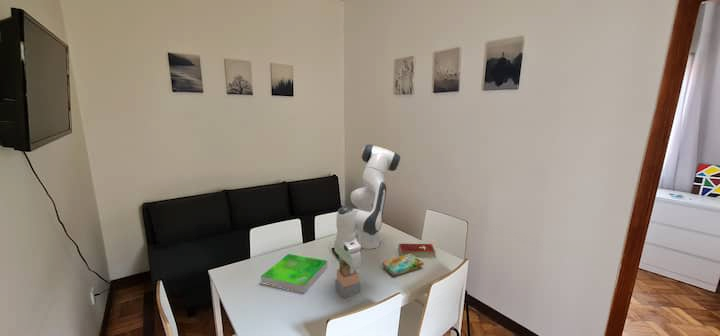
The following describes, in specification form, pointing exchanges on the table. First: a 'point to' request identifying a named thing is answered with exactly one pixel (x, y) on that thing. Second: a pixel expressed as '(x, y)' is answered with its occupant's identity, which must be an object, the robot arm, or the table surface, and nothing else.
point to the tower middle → (347, 279)
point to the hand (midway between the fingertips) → (346, 268)
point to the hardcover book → (417, 250)
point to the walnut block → (345, 268)
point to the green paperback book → (295, 273)
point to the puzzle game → (402, 264)
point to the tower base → (347, 289)
